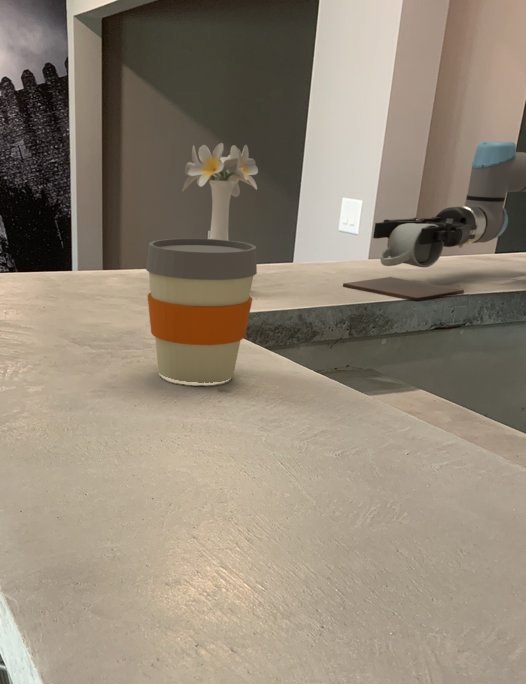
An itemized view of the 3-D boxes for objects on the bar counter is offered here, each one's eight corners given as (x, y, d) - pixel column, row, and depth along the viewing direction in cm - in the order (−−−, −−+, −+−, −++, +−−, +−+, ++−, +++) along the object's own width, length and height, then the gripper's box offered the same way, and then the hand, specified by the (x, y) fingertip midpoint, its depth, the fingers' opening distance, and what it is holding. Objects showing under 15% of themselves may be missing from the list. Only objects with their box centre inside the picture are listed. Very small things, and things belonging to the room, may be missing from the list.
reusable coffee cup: (254, 392, 86) (266, 254, 80) (144, 390, 86) (146, 251, 80) (241, 362, 98) (250, 239, 91) (143, 360, 97) (145, 237, 91)
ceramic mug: (409, 259, 151) (416, 218, 148) (441, 266, 145) (448, 223, 142) (368, 263, 147) (374, 221, 144) (399, 270, 141) (405, 226, 137)
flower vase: (244, 283, 150) (255, 143, 139) (252, 301, 133) (265, 144, 123) (178, 281, 150) (184, 141, 140) (178, 299, 134) (184, 142, 123)
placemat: (463, 293, 146) (464, 290, 146) (417, 301, 138) (417, 297, 137) (389, 279, 158) (389, 276, 158) (342, 286, 150) (342, 283, 149)
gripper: (506, 252, 149) (449, 262, 135) (406, 239, 163) (346, 247, 149) (515, 211, 146) (458, 217, 132) (412, 202, 160) (351, 206, 146)
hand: (398, 233), depth 140 cm, fingers closed on ceramic mug, 9 cm apart
